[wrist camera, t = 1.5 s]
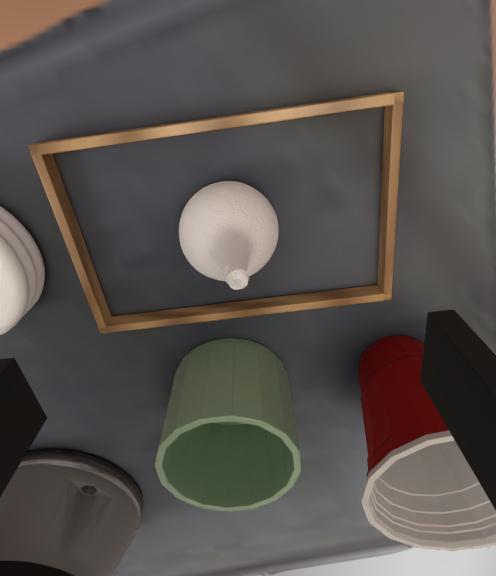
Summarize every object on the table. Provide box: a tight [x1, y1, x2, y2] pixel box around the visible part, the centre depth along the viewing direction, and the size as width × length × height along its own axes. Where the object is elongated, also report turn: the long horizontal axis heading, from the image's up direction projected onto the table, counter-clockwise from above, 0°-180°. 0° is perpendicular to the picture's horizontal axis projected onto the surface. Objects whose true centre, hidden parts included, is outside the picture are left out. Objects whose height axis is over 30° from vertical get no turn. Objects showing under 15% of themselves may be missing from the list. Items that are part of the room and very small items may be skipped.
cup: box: [154, 338, 301, 512], centre depth 28 cm, size 10×10×8 cm
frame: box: [28, 91, 404, 334], centre depth 25 cm, size 21×13×1 cm, turn 97°
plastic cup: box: [358, 336, 496, 551], centre depth 26 cm, size 11×11×12 cm
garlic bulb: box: [179, 181, 279, 290], centre depth 22 cm, size 6×6×8 cm
